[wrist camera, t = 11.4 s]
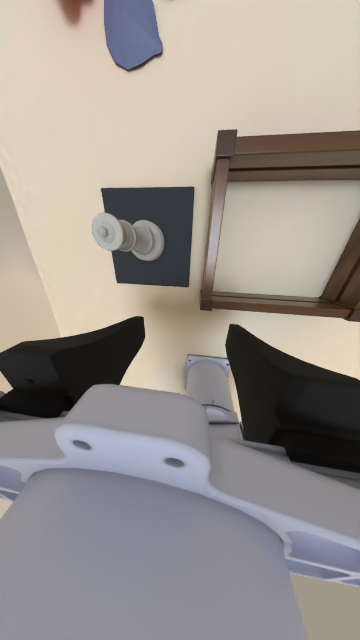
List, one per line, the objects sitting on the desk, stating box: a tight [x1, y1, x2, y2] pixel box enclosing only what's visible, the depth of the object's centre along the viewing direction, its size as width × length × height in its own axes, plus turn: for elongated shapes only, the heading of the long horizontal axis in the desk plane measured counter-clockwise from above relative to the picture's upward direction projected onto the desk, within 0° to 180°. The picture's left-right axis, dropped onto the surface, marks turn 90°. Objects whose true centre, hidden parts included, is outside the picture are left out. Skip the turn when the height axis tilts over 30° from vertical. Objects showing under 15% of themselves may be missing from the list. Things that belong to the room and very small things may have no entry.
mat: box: [101, 187, 194, 287], centre depth 18 cm, size 11×11×1 cm
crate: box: [200, 129, 360, 322], centre depth 15 cm, size 14×17×5 cm
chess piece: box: [92, 213, 165, 261], centre depth 13 cm, size 4×4×10 cm
